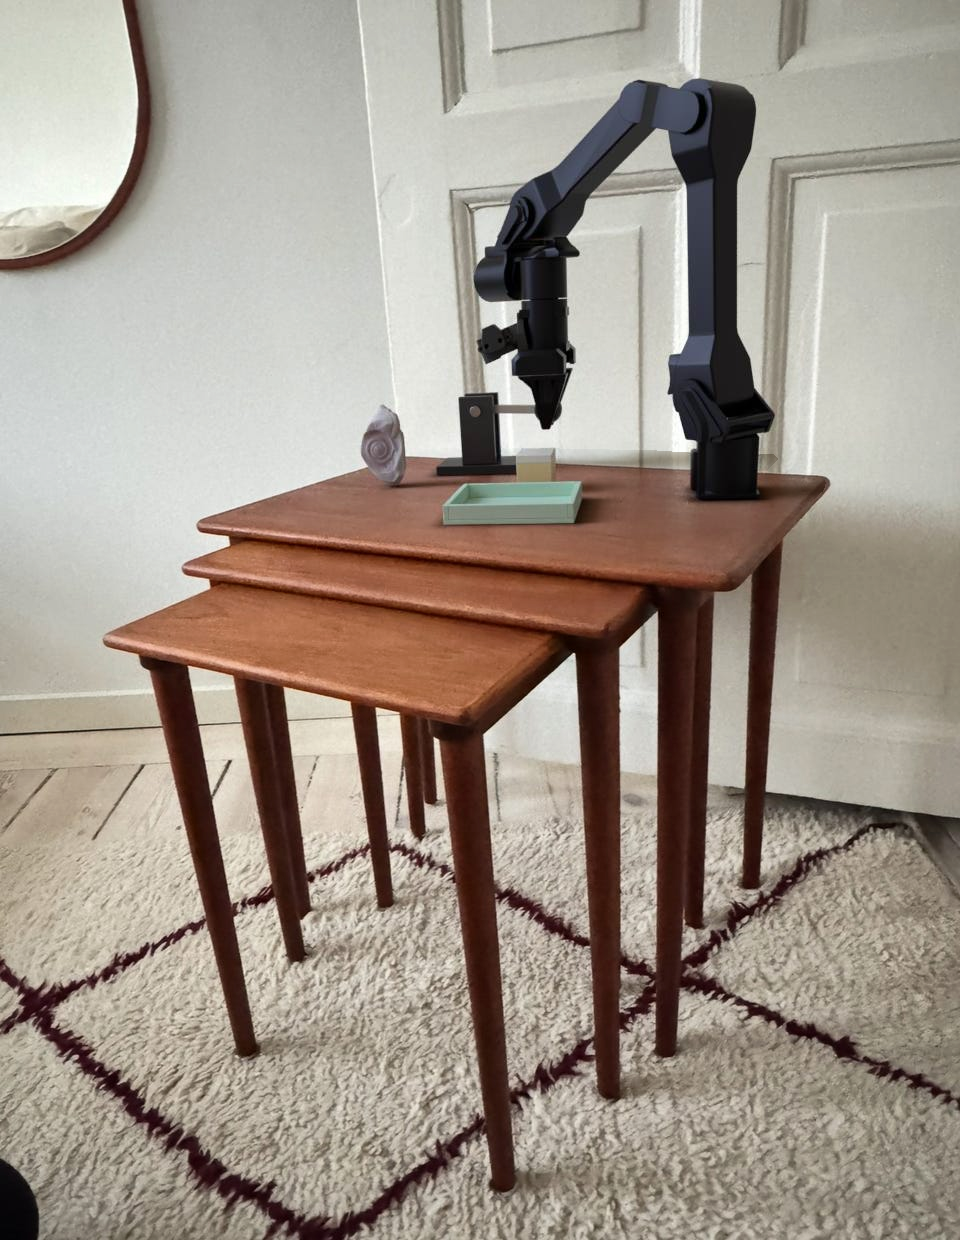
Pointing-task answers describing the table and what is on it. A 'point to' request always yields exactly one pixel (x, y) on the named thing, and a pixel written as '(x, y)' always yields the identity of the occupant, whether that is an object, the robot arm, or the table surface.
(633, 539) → the table surface
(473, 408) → the black lever stand
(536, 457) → the cake slice
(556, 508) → the tray
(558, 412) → the lever
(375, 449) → the fossil
